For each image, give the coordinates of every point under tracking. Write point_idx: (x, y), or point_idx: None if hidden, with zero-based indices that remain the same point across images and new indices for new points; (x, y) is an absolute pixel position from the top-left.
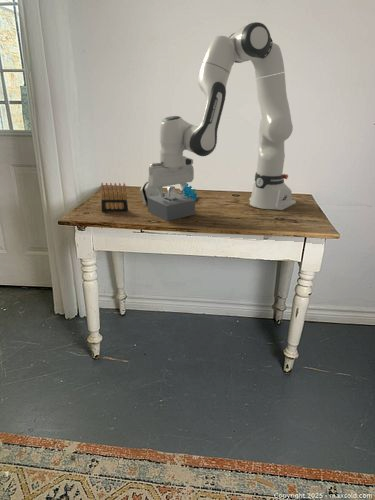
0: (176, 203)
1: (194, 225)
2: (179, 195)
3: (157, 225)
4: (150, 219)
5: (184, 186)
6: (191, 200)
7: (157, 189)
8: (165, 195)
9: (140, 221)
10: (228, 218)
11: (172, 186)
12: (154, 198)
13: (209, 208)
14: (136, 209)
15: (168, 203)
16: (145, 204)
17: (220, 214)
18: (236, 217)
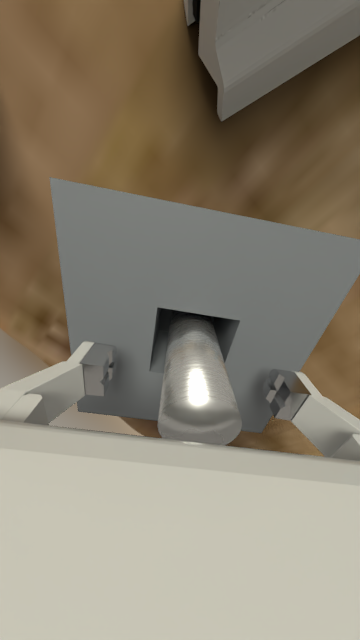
0: (147, 413)
1: (153, 425)
2: (299, 334)
3: (51, 365)
4: (56, 306)
5: (329, 453)
6: (244, 426)
7: (10, 396)
8: (231, 258)
9: (2, 295)
10: (269, 446)
11: (233, 420)
12: (93, 260)
13: (341, 372)
14: (57, 81)
15: (111, 393)
16: (185, 12)
17: (291, 422)
18: (290, 452)
